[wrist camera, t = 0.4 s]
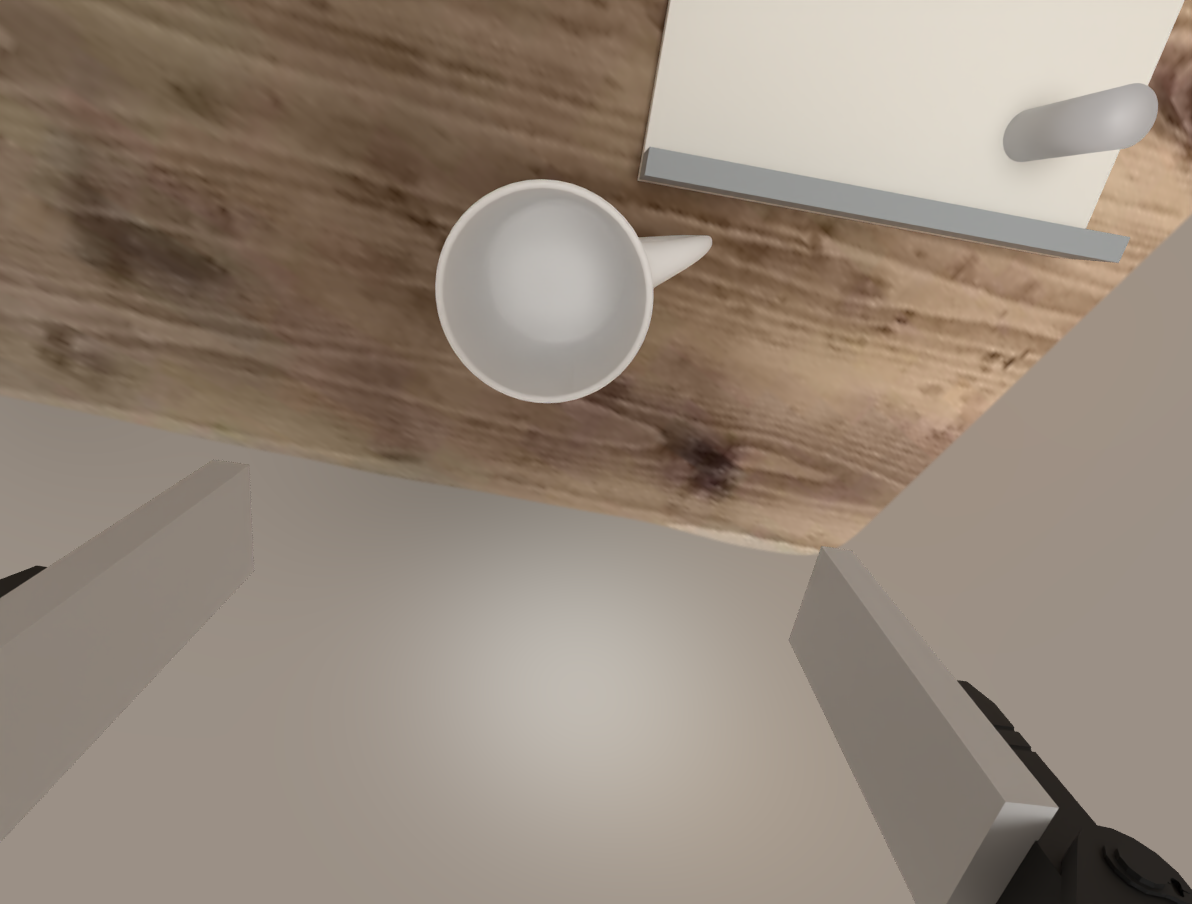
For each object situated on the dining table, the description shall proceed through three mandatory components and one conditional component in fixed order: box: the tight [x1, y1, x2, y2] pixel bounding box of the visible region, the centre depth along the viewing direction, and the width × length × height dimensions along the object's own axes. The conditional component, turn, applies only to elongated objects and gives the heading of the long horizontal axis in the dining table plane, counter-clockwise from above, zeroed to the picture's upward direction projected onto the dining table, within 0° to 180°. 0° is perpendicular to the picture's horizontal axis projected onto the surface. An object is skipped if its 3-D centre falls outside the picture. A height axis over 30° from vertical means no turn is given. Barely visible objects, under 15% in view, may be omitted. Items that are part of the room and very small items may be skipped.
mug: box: [435, 179, 712, 403], centre depth 28 cm, size 9×12×11 cm
